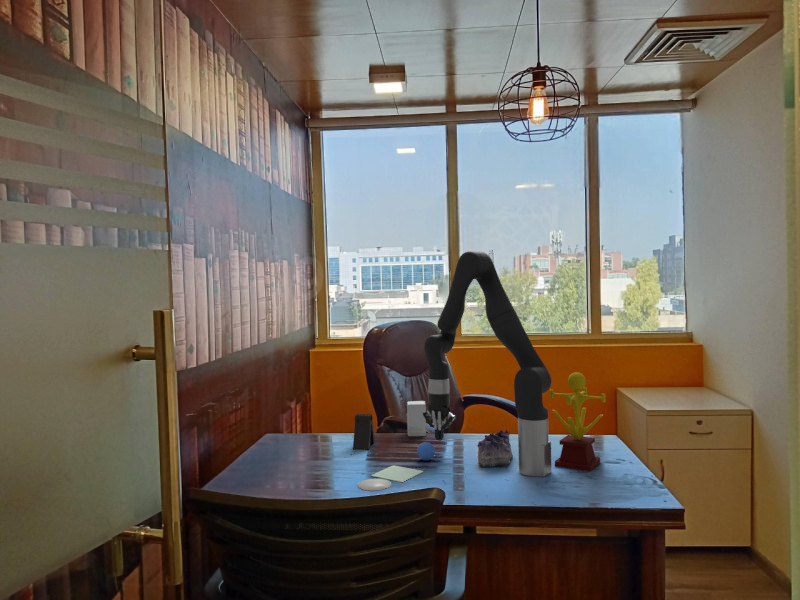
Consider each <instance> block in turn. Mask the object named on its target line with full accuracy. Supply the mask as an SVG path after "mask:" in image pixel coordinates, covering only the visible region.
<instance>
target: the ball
mask: <svg viewBox="0 0 800 600" xmlns="http://www.w3.org/2000/svg"><path fill="white" fill-rule="evenodd" d="M416 451H417V452H416V453H417V456H418V458H419V459H421V460H422V461H430V460H432V459H433V457H434V456H435V453H436V450H435V447H434V445H433V444H432V443H430V442H427V441H424V442H421V443H420V444H419V445H418V446H417V449H416Z"/></svg>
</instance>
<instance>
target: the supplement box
mask: <svg viewBox="0 0 800 600" xmlns="http://www.w3.org/2000/svg"><path fill="white" fill-rule="evenodd" d="M426 406H427V405H426V401H425V400H413V401H412V400H411V401H407V405H406V414H407V415H406V418H407V422H406V425H407V427H406V428H407V431H406V432H407V436H408V437H425V436H427V421H426V419H425V418H424V416H423V412H426V411H427V410H426V409H427V407H426Z"/></svg>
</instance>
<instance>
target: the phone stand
mask: <svg viewBox="0 0 800 600" xmlns="http://www.w3.org/2000/svg"><path fill="white" fill-rule="evenodd" d="M353 429H354V431H353V441H352V442H353V443H352V444H353V445H352V450H360V451H362V450H363V451H369V450H371V449H372V448H373V447H374V446H375V445H376V437H375V431H374V423H373V415H372V414H371V413H355V415H354V428H353Z"/></svg>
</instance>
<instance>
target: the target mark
mask: <svg viewBox="0 0 800 600" xmlns="http://www.w3.org/2000/svg"><path fill="white" fill-rule="evenodd" d="M422 473H424V470H419V469H415V468H410V467H409V468H408V467H404V466H398V465H390V466H388V467H385V468H384V469H381V470H379V471H377V472H376V473H373V474H371V475H370V476H371V477H374V478H377V479H385V480H388V481H392V482H393V481H394V482H399V483H402V482H403V483H404V481H405V482H406V480H407V481H408V479H409V480H411V479H412V478H415V477H416V476H418V475H420V474H422ZM410 478H411V479H410Z"/></svg>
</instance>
